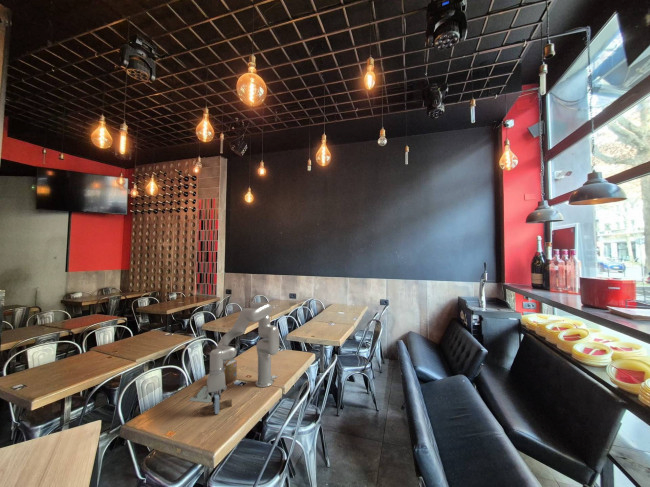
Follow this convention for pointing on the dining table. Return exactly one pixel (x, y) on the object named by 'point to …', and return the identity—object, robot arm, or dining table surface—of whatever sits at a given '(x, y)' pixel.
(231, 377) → the milk carton
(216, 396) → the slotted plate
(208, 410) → the walnut board
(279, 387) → the dining table surface
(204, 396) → the metal bracket
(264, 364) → the robot arm
